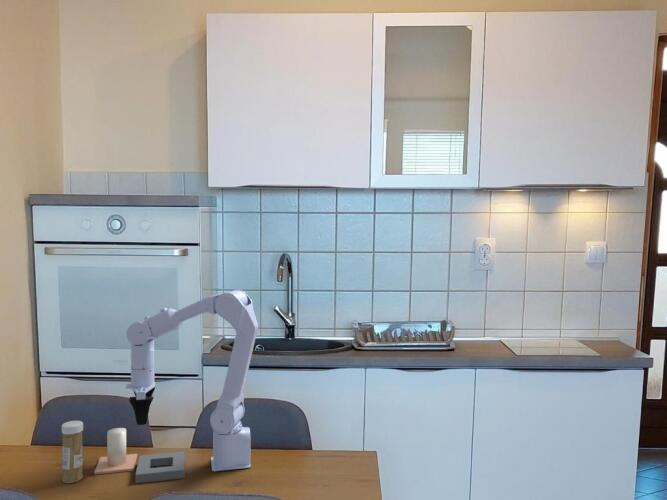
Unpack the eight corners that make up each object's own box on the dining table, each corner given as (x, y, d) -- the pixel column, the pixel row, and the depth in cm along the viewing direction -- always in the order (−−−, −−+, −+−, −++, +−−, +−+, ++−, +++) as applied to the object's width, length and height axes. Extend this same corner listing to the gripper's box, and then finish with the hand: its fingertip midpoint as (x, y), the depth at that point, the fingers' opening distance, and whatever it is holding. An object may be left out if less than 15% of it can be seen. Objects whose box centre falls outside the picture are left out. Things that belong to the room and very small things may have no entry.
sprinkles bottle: (84, 481, 123) (84, 424, 123) (62, 485, 121) (62, 427, 121) (81, 473, 127) (81, 418, 127) (60, 478, 125) (60, 422, 124)
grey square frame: (184, 459, 136) (184, 451, 136) (184, 478, 126) (184, 469, 125) (139, 463, 133) (139, 455, 133) (135, 483, 123) (135, 474, 123)
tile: (137, 455, 138) (137, 453, 138) (133, 470, 129) (133, 468, 129) (100, 459, 135) (100, 457, 135) (94, 474, 127) (94, 472, 127)
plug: (127, 458, 135) (127, 427, 135) (124, 465, 131) (124, 433, 130) (109, 459, 134) (109, 428, 134) (105, 467, 130) (105, 434, 129)
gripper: (129, 361, 142) (129, 411, 142) (123, 375, 128) (123, 430, 128) (156, 360, 144) (156, 409, 144) (153, 373, 130) (153, 427, 130)
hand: (142, 419), depth 136 cm, fingers open, 7 cm apart
